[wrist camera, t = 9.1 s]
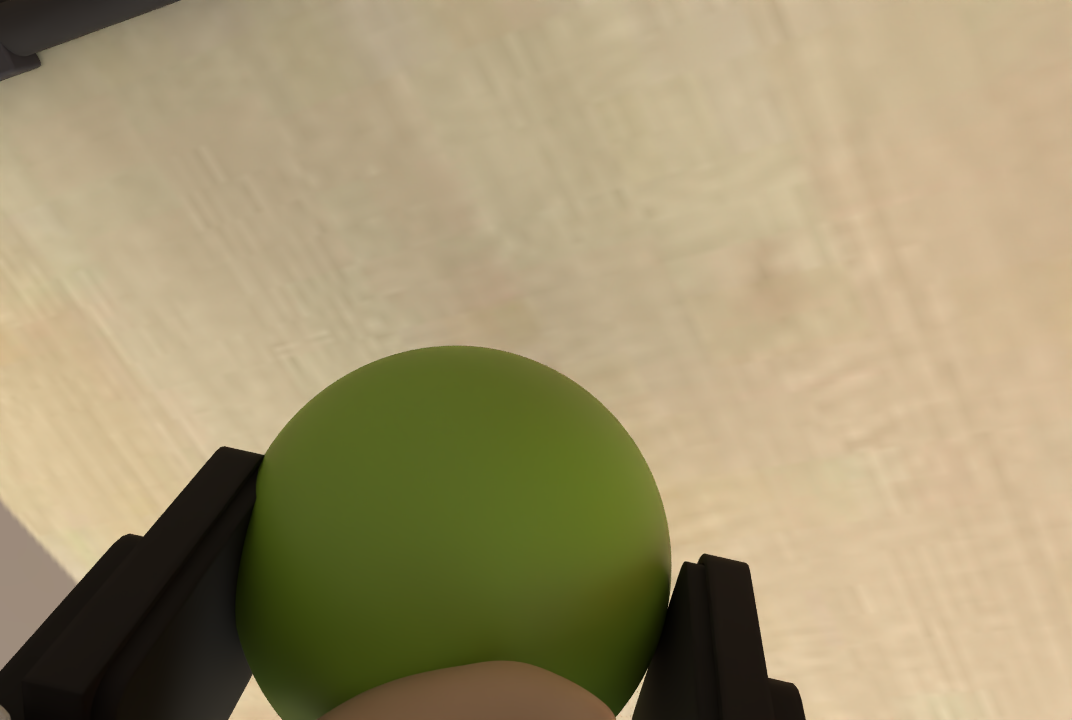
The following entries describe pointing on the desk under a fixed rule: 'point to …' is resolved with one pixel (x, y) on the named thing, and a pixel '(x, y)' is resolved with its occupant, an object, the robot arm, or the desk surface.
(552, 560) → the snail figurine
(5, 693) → the robot arm
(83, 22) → the black long thin rod
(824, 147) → the desk surface
